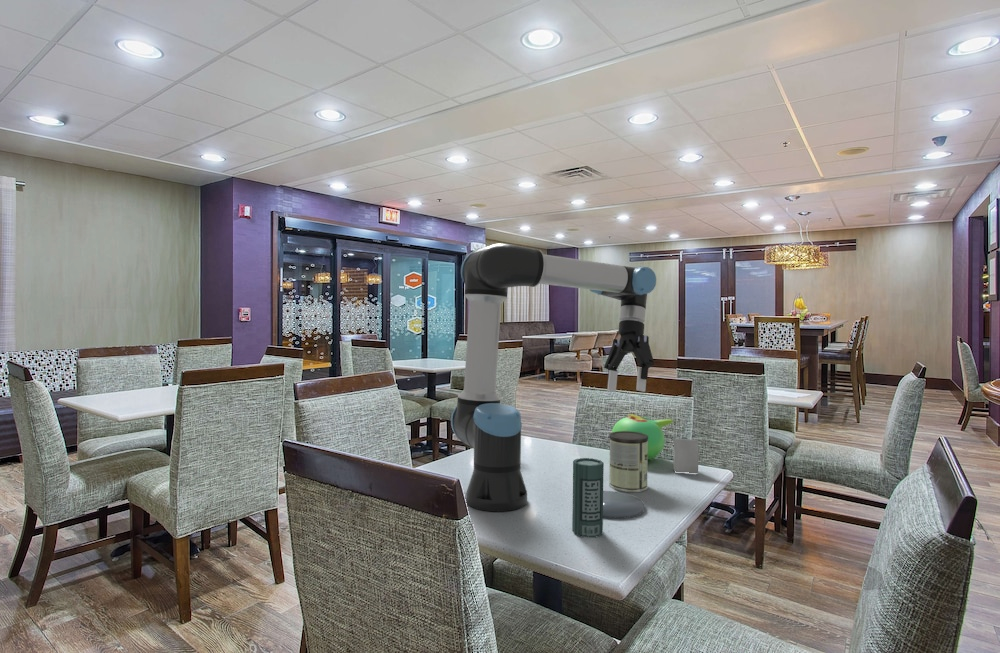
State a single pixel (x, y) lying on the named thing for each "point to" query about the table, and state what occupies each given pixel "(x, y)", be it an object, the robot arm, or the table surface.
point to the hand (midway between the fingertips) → (625, 391)
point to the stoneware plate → (621, 505)
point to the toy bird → (645, 431)
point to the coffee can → (628, 461)
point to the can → (587, 497)
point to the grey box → (685, 455)
